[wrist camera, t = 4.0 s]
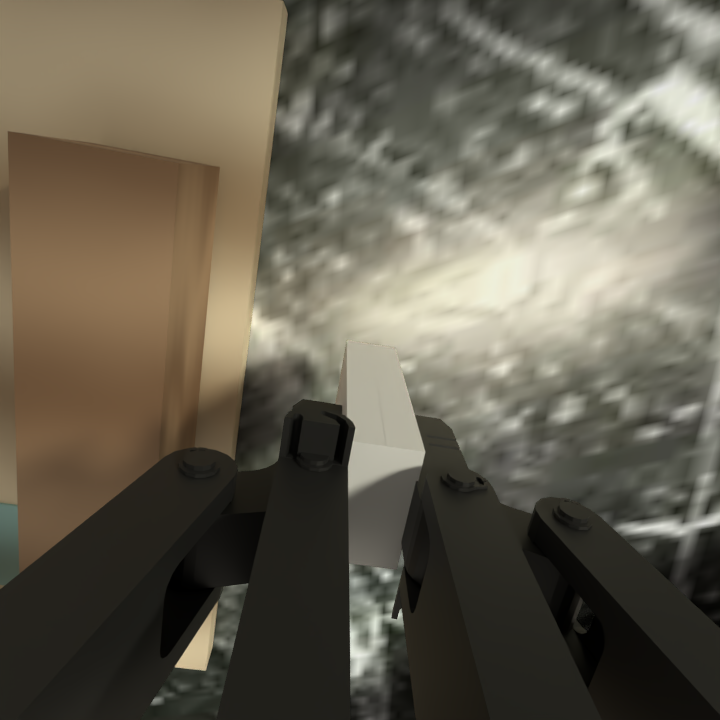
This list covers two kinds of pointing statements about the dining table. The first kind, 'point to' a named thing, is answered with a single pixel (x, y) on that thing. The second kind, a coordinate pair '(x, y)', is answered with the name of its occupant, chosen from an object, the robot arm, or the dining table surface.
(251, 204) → the board
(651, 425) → the dining table surface
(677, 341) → the dining table surface
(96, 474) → the leg
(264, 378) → the dining table surface
